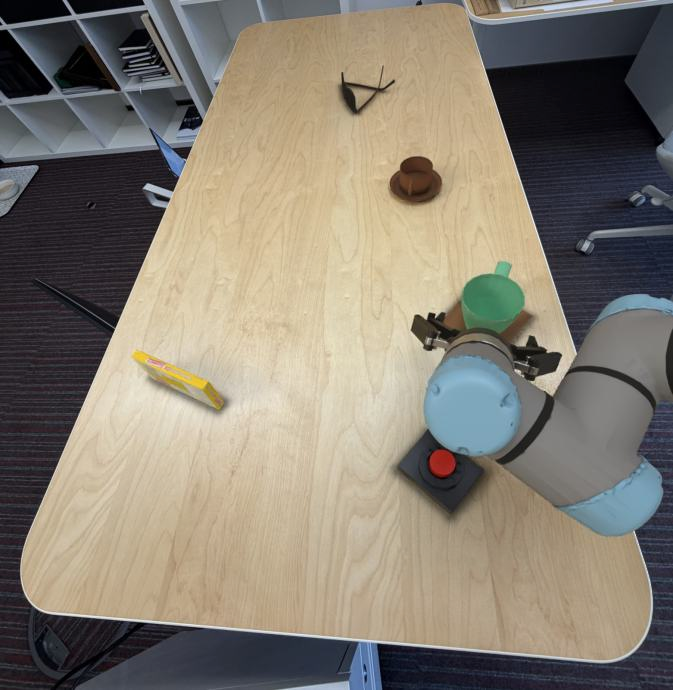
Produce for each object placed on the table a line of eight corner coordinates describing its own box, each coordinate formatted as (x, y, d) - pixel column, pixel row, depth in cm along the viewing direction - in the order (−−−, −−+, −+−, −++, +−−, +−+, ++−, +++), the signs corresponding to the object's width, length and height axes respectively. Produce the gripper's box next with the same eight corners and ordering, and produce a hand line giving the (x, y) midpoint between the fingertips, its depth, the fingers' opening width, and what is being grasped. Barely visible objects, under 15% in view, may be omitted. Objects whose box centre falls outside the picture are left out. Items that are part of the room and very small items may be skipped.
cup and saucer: (444, 204, 94) (447, 180, 89) (391, 208, 95) (391, 186, 90) (437, 170, 100) (440, 147, 95) (387, 175, 101) (387, 152, 96)
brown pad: (531, 316, 76) (532, 315, 76) (495, 360, 72) (495, 359, 72) (475, 285, 81) (475, 284, 81) (438, 325, 77) (438, 323, 77)
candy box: (226, 400, 74) (209, 380, 67) (220, 411, 73) (201, 391, 66) (158, 369, 79) (136, 348, 72) (152, 378, 78) (128, 357, 71)
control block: (481, 473, 63) (487, 466, 59) (450, 514, 60) (454, 510, 57) (428, 432, 67) (430, 423, 64) (397, 469, 65) (397, 462, 61)
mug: (502, 360, 72) (517, 329, 63) (447, 343, 75) (454, 311, 66) (521, 297, 78) (537, 260, 69) (469, 283, 81) (478, 247, 72)
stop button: (458, 464, 60) (460, 460, 59) (444, 482, 59) (445, 480, 58) (438, 448, 62) (439, 444, 60) (423, 466, 61) (424, 463, 59)
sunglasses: (400, 103, 117) (400, 85, 112) (350, 115, 116) (349, 97, 112) (383, 75, 125) (383, 57, 121) (337, 86, 125) (335, 68, 121)
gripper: (365, 363, 51) (402, 332, 70) (586, 434, 43) (560, 377, 62) (379, 304, 48) (413, 289, 68) (615, 368, 41) (578, 331, 60)
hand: (483, 331), depth 65 cm, fingers open, 13 cm apart
